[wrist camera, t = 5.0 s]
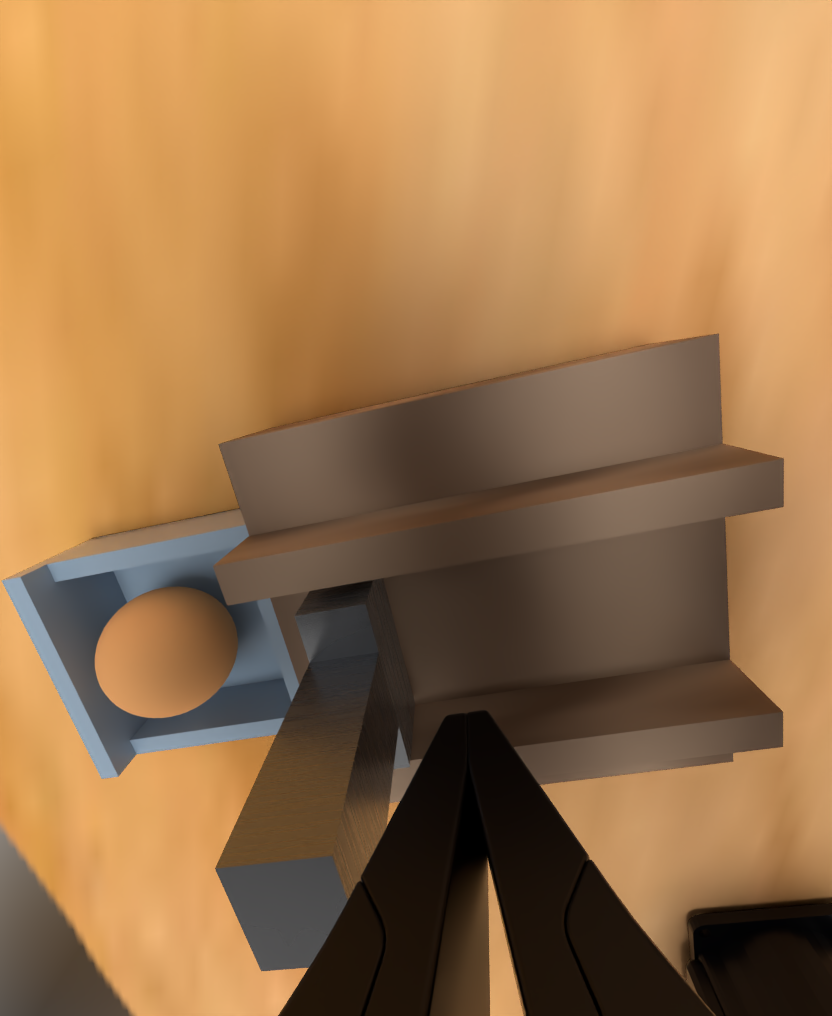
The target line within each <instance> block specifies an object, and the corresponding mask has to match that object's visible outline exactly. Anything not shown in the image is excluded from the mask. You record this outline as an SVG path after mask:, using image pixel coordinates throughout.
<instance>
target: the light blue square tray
mask: <svg viewBox="0 0 832 1016" xmlns="http://www.w3.org/2000/svg"><path fill="white" fill-rule="evenodd" d="M248 536H249V534H248V531H247V528H246V525H245V522H244V519H243V516H242V513H241V510H240V508H239V509H234V510H229V511H224V512H219V513H214V514H209V515H204V516H200V517H195V518H190V519H185V520H180V521H175V522H170V523H165V524H160V525H155V526H150V527H145V528H140V529H135V530H130V531H126V532H121V533H116V534H111V535H106V536H101V537H96V538H92V539H90V540H88V541H85V542H83V543H81V544H79V545H77V546H75V547H73V548H70V549H68V550H66V551H64V552H62V553H60V554H58V555H55V556H53V557H51V558H49V559H47V560H45V561H43V562H40V563H38V564H36V565H34V566H32V567H30V568H28V569H25V570H23V571H21V572H19V573H17V574H15V575H13V576H10V577H8V578H6V579H4V580H2V582H3V584H4V586H5V588H6V590H7V592H8V594H9V596H10V598H11V600H12V602H13V604H14V606H15V608H16V610H17V612H18V614H19V616H20V618H21V620H22V622H23V624H24V626H25V628H26V630H27V632H28V634H29V636H30V638H31V640H32V642H33V644H34V646H35V648H36V650H37V652H38V654H39V656H40V658H41V660H42V661H43V663H44V665H45V667H46V669H47V671H48V673H49V675H50V677H51V679H52V681H53V683H54V685H55V687H56V689H57V691H58V693H59V695H60V697H61V699H62V701H63V703H64V705H65V707H66V709H67V711H68V713H69V715H70V717H71V719H72V721H73V723H74V725H75V727H76V729H77V731H78V733H79V735H80V737H81V739H82V741H83V743H84V745H85V747H86V748H87V750H88V752H89V754H90V756H91V758H92V760H93V762H94V764H95V766H96V768H97V770H98V772H99V774H100V776H101V778H102V779H104V778H111V777H118V776H119V775H120V774H121V773H122V771H123V770H124V769H125V768H126V767H127V765H128V764H129V763H130V762H131V760H132V759H133V758H134V757H135V755H136V754H142V753H149V752H156V751H163V750H170V749H177V748H184V747H191V746H199V745H206V744H213V743H220V742H227V741H234V740H241V739H248V738H255V737H262V736H269V735H276V734H277V733H278V731H279V729H280V726H281V724H282V722H283V720H284V718H285V715H286V713H287V711H288V709H289V707H290V705H291V702H292V700H293V698H294V696H295V694H296V692H297V689H298V687H299V683H298V680H297V677H296V674H295V671H294V668H293V665H292V662H291V659H290V656H289V653H288V650H287V647H286V644H285V641H284V638H283V635H282V632H281V629H280V626H279V623H278V620H277V617H276V614H275V611H274V608H273V605H272V602H271V599H270V598H268V599H262V600H256V601H251V602H245V603H239V604H234V605H228V606H227V604H226V601H225V598H224V596H223V593H222V590H221V587H220V585H219V582H218V579H217V576H216V574H215V571H214V568H213V566H214V565H215V564H216V563H217V562H218V561H220V560H221V559H222V558H223V557H224V556H226V555H227V554H228V553H229V552H230V551H232V550H233V549H234V548H235V547H236V546H238V545H239V544H240V543H241V542H242V541H244V540H245V539H246V538H247V537H248ZM176 586H180V587H189V588H194V589H197V590H200V591H203V592H205V593H207V594H209V595H211V596H213V597H214V598H216V599H217V600H218V601H219V602H221V603H222V604H223V605H224V607H225V608H226V609H227V610H228V612H229V613H230V615H231V617H232V619H233V621H234V623H235V626H236V630H237V636H238V650H237V655H236V660H235V663H234V666H233V668H232V670H231V672H230V674H229V676H228V678H227V680H226V681H225V683H224V684H223V685H222V686H221V687H220V689H219V690H218V691H217V692H216V693H215V694H214V695H213V696H212V697H211V698H210V699H208V700H207V701H206V702H204V703H203V704H201V705H199V706H198V707H196V708H194V709H192V710H190V711H188V712H186V713H183V714H180V715H176V716H172V717H165V718H147V717H141V716H137V715H134V714H131V713H128V712H126V711H124V710H122V709H121V708H119V707H118V706H116V705H115V704H114V703H113V702H112V701H111V700H110V699H109V698H108V697H107V696H106V695H105V693H104V692H103V690H102V688H101V687H100V685H99V682H98V679H97V676H96V671H95V653H96V647H97V644H98V640H99V638H100V636H101V634H102V632H103V629H104V627H105V626H106V625H107V623H108V622H109V620H110V619H111V618H112V617H113V616H114V614H115V613H116V612H117V611H118V610H119V609H120V608H121V607H123V606H124V605H125V604H126V603H128V602H129V601H131V600H132V599H134V598H136V597H138V596H139V595H141V594H143V593H146V592H149V591H151V590H155V589H159V588H164V587H176Z"/></svg>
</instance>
